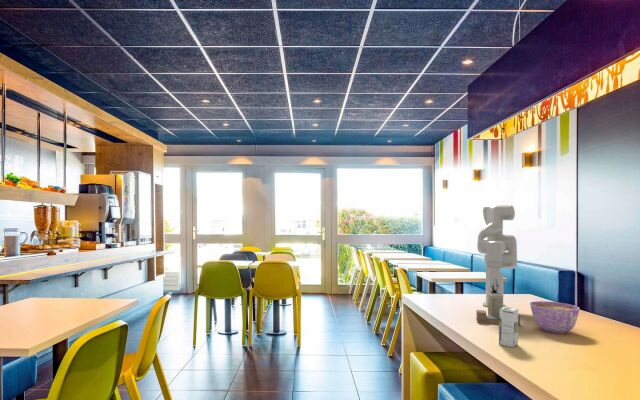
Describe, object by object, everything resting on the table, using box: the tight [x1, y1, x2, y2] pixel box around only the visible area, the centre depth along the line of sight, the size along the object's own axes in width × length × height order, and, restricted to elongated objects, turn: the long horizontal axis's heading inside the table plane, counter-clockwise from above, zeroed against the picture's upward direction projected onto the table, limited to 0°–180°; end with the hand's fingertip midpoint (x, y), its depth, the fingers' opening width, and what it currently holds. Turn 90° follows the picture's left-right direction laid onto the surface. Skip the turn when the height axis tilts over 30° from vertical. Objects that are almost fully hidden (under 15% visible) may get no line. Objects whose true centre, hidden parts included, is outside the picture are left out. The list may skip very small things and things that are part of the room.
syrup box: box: [498, 306, 519, 348], centre depth 174 cm, size 6×6×14 cm
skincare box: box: [487, 293, 504, 317], centre depth 221 cm, size 6×4×12 cm
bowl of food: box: [529, 300, 580, 334], centre depth 198 cm, size 20×20×12 cm
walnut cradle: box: [475, 309, 521, 327], centre depth 211 cm, size 6×19×5 cm, turn 75°
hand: (493, 300), depth 225 cm, fingers closed
